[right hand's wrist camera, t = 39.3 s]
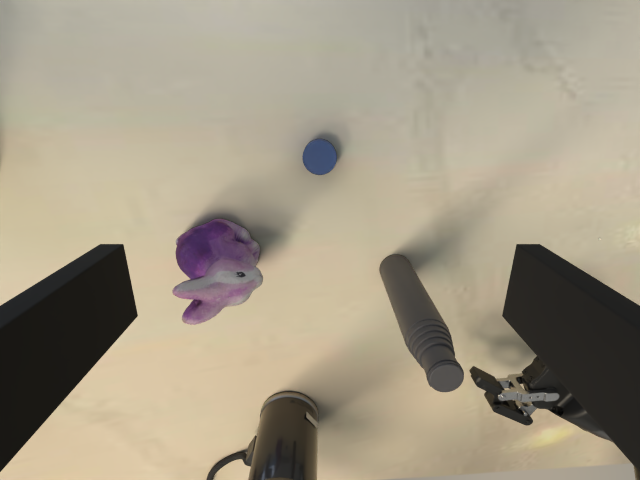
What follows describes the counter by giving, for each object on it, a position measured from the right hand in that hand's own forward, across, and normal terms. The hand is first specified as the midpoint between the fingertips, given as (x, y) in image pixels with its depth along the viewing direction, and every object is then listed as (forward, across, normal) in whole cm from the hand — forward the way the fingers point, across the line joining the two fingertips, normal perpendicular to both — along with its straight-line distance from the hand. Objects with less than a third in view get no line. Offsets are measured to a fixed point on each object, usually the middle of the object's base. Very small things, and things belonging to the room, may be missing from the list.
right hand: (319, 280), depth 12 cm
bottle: (+35, +10, -16) cm, 39 cm away
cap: (+33, 0, 0) cm, 33 cm away
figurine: (+35, -12, -12) cm, 39 cm away
